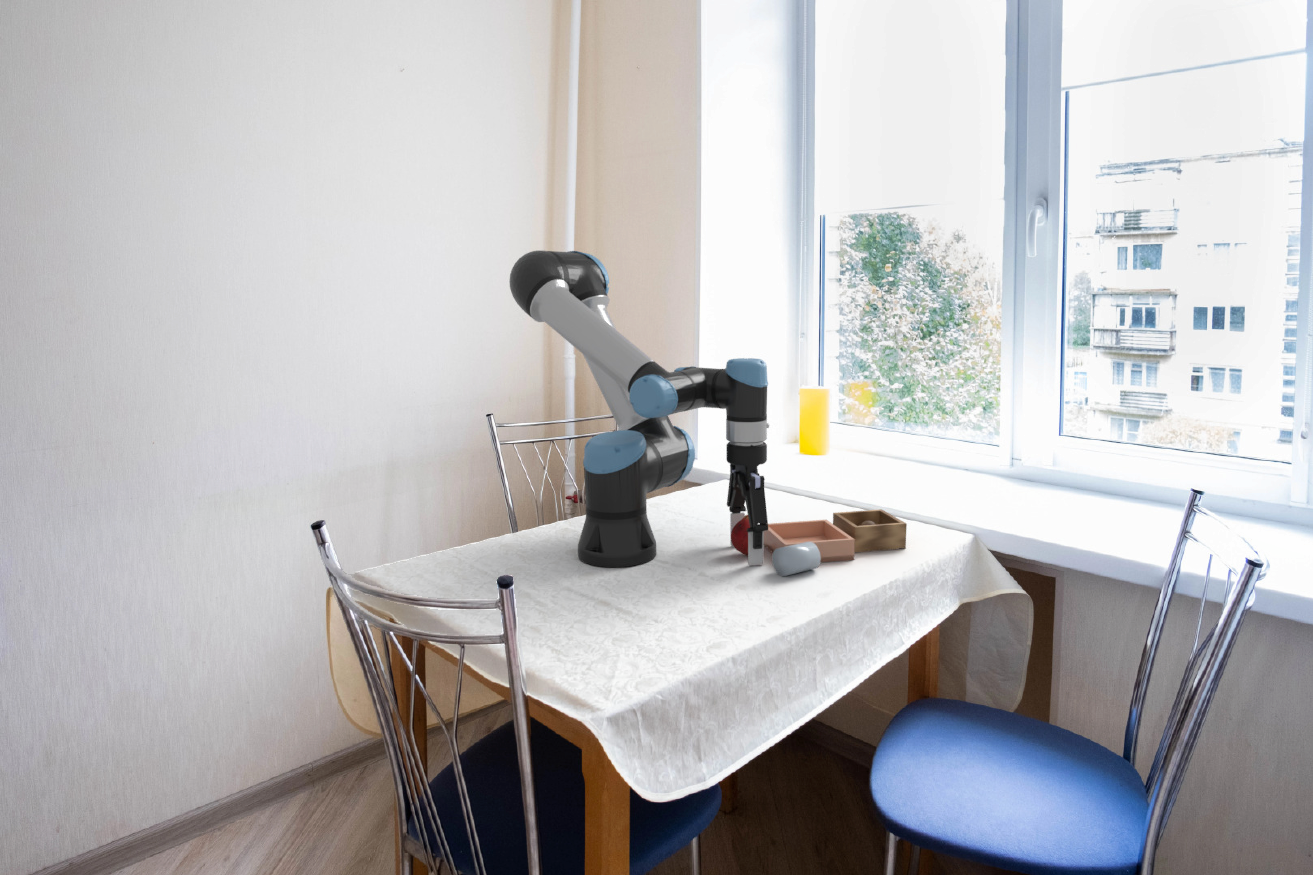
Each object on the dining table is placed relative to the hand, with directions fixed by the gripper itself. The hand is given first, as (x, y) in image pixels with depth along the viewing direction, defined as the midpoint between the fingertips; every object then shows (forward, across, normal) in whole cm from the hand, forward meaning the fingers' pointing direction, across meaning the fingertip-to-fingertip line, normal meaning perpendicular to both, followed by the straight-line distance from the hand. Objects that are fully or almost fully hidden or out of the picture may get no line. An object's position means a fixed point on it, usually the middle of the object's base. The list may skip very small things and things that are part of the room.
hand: (746, 554), depth 157 cm
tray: (0, 0, -12) cm, 12 cm away
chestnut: (0, +2, -26) cm, 26 cm away
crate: (0, +2, -26) cm, 26 cm away
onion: (0, 0, 0) cm, 0 cm away
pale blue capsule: (0, -11, -6) cm, 12 cm away
